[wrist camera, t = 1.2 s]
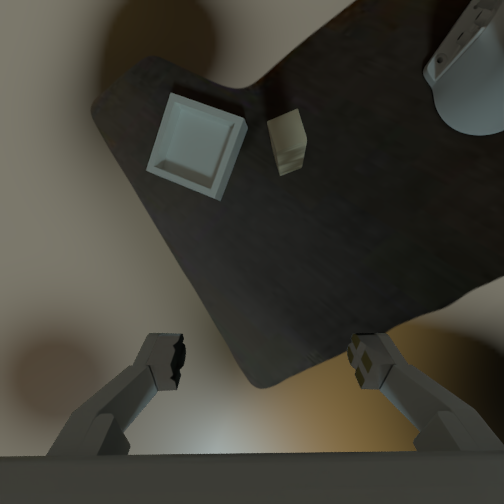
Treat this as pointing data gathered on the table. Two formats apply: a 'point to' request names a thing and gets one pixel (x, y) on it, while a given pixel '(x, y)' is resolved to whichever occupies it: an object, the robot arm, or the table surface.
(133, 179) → the table surface
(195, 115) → the tray
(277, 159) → the handle block
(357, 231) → the table surface
